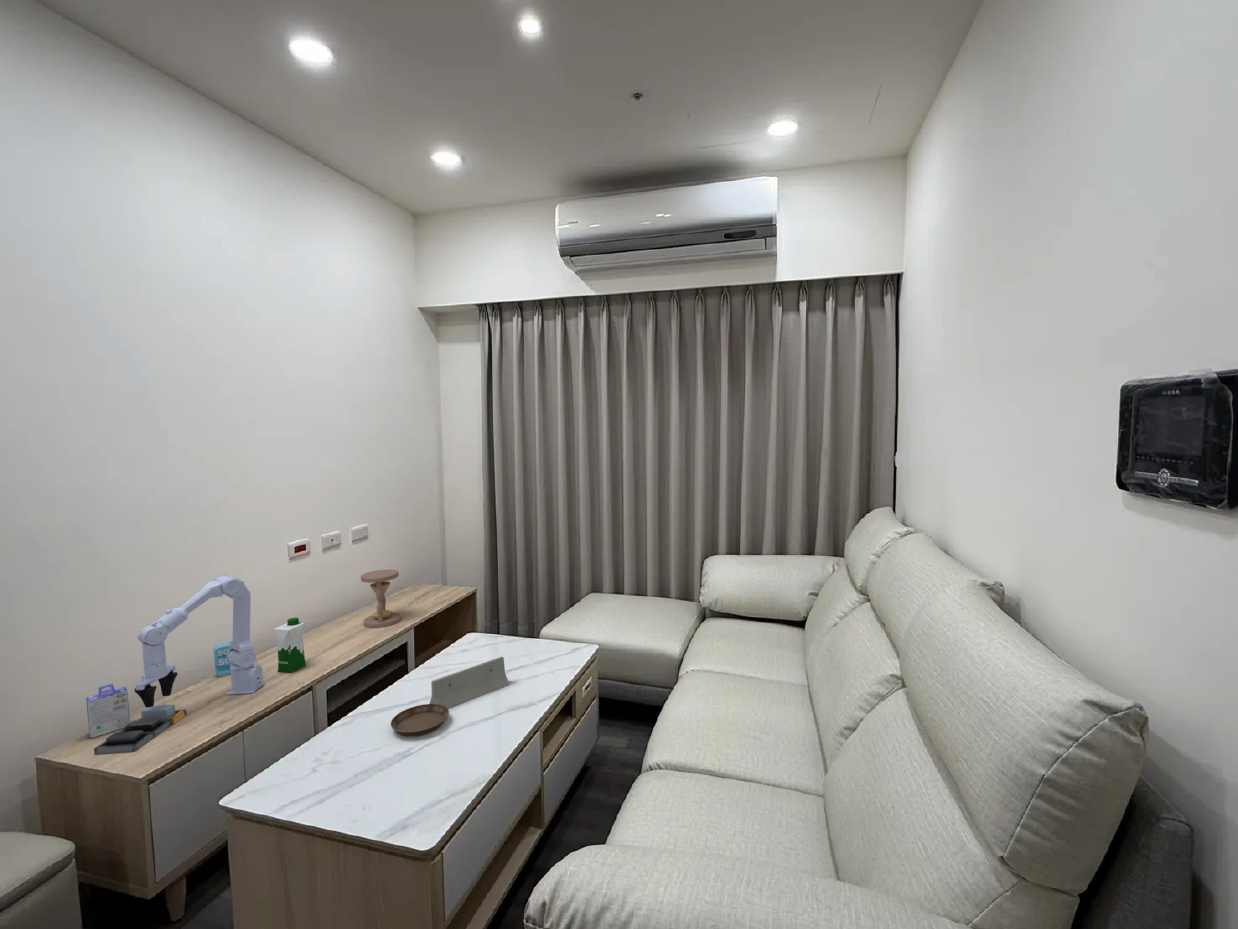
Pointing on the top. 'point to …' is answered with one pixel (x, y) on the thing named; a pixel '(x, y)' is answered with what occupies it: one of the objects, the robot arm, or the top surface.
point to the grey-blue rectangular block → (158, 712)
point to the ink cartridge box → (108, 710)
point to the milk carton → (290, 646)
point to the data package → (222, 659)
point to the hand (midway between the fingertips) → (158, 701)
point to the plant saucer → (420, 720)
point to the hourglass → (380, 598)
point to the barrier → (469, 683)
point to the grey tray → (137, 734)
